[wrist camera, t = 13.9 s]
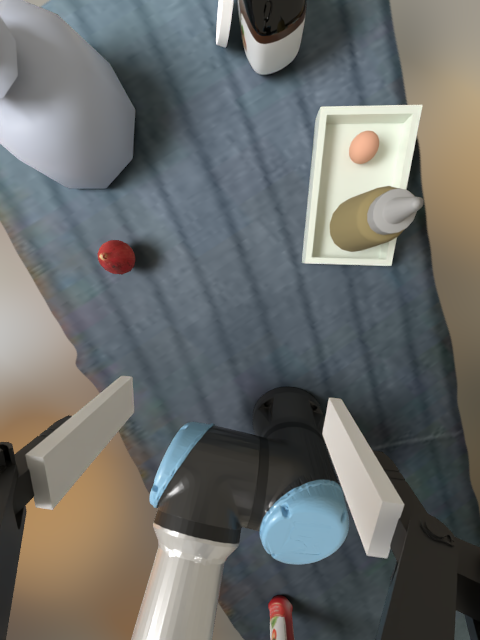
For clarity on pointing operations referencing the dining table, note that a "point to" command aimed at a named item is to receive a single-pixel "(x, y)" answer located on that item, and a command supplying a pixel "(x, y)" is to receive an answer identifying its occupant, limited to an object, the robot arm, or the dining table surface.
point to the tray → (355, 173)
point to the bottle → (60, 100)
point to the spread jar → (265, 31)
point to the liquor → (281, 619)
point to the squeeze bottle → (373, 218)
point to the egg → (364, 147)
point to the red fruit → (116, 257)
